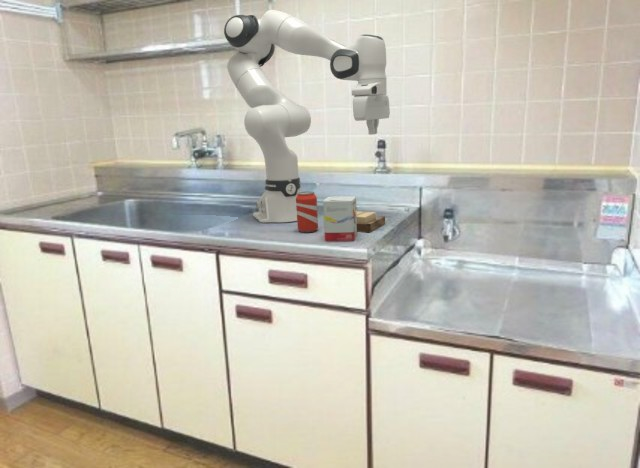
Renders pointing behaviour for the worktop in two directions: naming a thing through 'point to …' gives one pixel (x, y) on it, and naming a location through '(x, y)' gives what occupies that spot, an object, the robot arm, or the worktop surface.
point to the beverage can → (307, 211)
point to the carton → (365, 216)
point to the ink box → (340, 218)
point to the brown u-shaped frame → (371, 225)
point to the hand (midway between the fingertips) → (372, 134)
